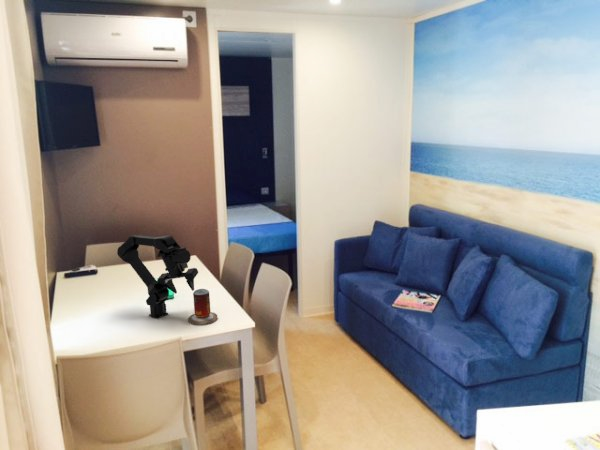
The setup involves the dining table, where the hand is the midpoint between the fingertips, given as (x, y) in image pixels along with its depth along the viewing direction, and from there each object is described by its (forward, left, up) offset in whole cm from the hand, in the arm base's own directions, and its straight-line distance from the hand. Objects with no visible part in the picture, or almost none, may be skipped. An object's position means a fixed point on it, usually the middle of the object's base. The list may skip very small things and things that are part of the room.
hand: (184, 291), depth 232 cm
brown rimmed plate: (0, -11, -11) cm, 16 cm away
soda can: (0, -11, -10) cm, 15 cm away
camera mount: (+11, +30, -12) cm, 34 cm away
